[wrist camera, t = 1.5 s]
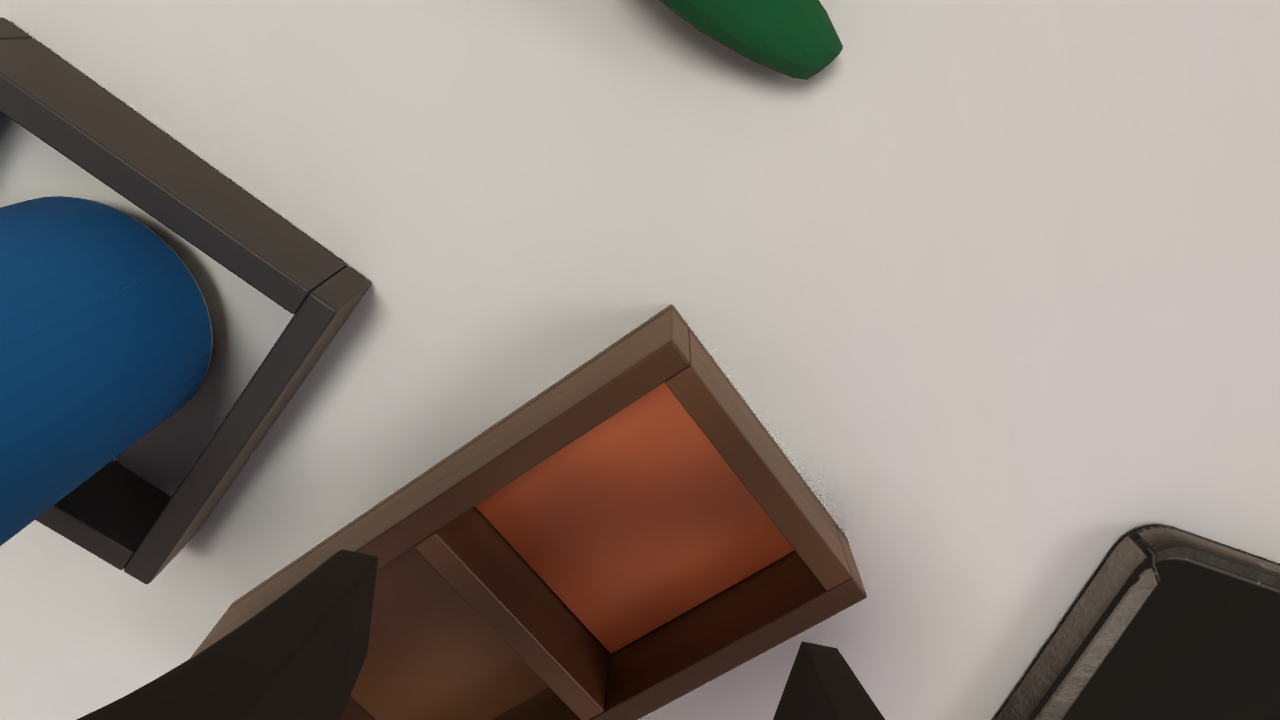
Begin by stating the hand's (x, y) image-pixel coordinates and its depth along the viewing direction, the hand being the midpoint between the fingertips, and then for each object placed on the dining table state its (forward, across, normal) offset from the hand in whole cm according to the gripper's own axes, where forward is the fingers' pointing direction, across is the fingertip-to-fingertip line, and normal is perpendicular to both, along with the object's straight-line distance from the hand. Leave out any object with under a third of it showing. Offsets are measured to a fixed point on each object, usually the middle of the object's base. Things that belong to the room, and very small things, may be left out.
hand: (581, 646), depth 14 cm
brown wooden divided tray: (+10, +2, +7) cm, 12 cm away
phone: (+10, -18, +8) cm, 23 cm away
